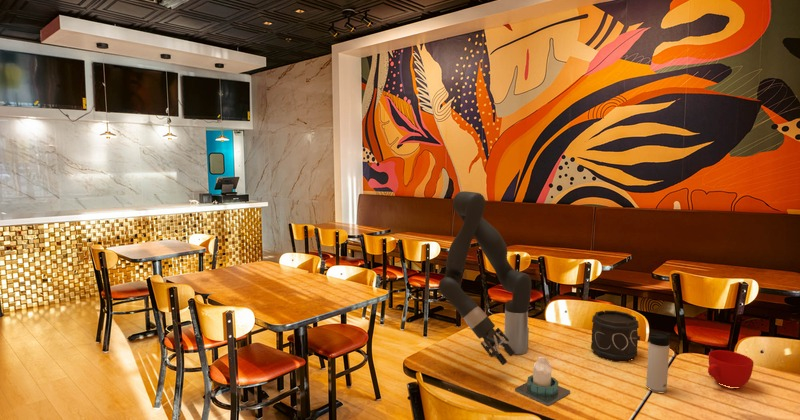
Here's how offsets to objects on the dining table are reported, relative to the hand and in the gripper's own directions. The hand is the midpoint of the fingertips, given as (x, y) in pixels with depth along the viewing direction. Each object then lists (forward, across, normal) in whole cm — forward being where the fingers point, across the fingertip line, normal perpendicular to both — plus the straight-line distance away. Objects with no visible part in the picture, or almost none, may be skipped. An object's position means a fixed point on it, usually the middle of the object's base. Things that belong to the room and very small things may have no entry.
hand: (509, 359), depth 170 cm
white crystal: (+14, 0, -2) cm, 14 cm away
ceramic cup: (+53, +37, -40) cm, 76 cm away
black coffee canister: (+27, +47, -14) cm, 56 cm away
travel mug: (+39, +22, -25) cm, 51 cm away
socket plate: (+15, 0, -2) cm, 15 cm away
